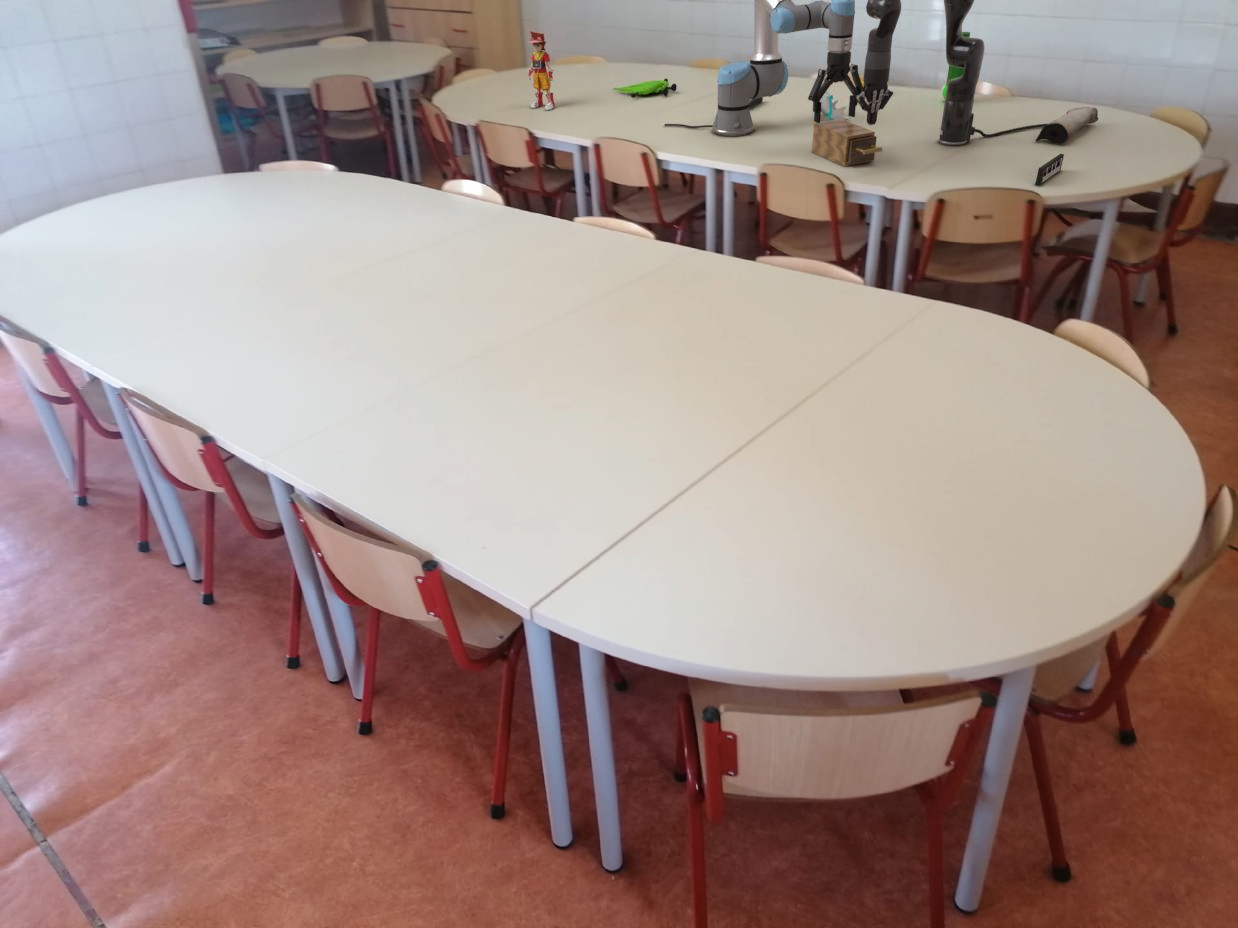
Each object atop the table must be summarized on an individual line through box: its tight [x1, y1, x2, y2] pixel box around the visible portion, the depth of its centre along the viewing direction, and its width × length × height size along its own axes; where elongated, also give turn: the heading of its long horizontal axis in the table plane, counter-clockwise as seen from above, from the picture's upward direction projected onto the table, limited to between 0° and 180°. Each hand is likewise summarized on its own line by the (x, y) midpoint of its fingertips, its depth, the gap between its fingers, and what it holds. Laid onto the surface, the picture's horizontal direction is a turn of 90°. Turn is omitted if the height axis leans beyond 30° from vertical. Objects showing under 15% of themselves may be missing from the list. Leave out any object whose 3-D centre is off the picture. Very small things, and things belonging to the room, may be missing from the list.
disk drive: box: [749, 97, 764, 110], centre depth 367 cm, size 10×3×15 cm
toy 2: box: [612, 78, 677, 99], centre depth 396 cm, size 28×5×30 cm
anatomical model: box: [819, 91, 851, 121], centre depth 342 cm, size 15×10×10 cm
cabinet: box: [811, 119, 876, 167], centre depth 301 cm, size 20×11×10 cm, turn 22°
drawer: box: [847, 135, 883, 166], centre depth 297 cm, size 24×9×8 cm, turn 22°
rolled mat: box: [1035, 106, 1099, 146], centre depth 310 cm, size 30×9×10 cm
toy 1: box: [527, 31, 556, 111], centre depth 374 cm, size 12×9×30 cm
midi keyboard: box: [1035, 153, 1065, 186], centre depth 273 cm, size 18×1×5 cm, turn 138°
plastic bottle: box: [942, 31, 971, 100], centre depth 348 cm, size 10×10×25 cm
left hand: (834, 119), depth 302 cm, fingers open, 13 cm apart
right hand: (871, 124), depth 285 cm, fingers closed
